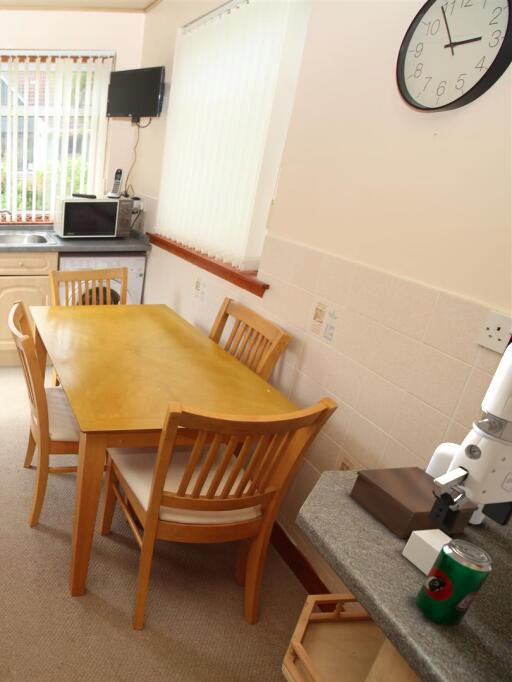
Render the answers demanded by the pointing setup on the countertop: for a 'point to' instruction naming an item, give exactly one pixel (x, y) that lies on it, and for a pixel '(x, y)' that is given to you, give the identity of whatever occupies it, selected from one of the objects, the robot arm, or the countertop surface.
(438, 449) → the photo printer
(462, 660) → the countertop surface
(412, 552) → the white box
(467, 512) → the storage box
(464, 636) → the countertop surface
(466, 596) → the soda can
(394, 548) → the countertop surface
